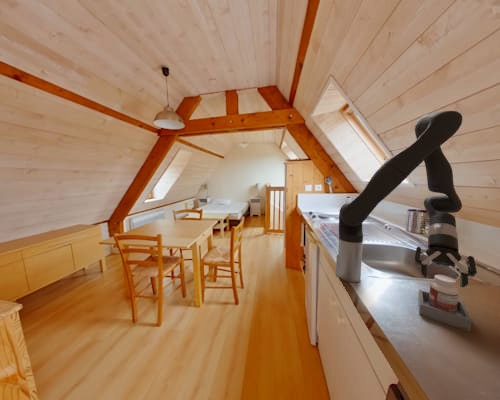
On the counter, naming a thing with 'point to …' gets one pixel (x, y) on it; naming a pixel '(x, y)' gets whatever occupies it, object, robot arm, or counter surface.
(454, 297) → the pill bottle
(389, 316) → the counter surface
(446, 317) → the charcoal bin
